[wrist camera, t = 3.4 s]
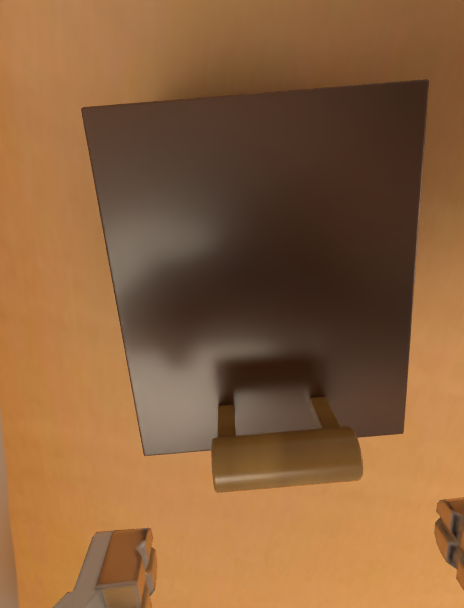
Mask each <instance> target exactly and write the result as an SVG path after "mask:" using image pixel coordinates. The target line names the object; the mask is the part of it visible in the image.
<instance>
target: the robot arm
mask: <svg viewBox="0 0 464 608" xmlns="http://www.w3.org/2000/svg"><path fill="white" fill-rule="evenodd" d="M436 511H437V512H438V514H439V515H440V518H439V519H438V520H437V522H436V523H435V537H436V542H437V545H438V547H439V550H440V552H441V554H442V556H443V557H444V559H445V561H446V562H447V563H449V564H450V565H452V566H453V567H454V568H456V569H457V575H456V579H457V580H458V582H459V583H460V585H461V587H462V588H463V590H464V497H463V498H453V499H444V500H440V501H439V502H438V503H437V510H436ZM152 541H153V535H152V531H151V528H142V529H127V530H114V531H101V532H96V533H95V535H94V536H93V537H92V540H91V543H90V546H89V548H88V551H87V554H86V557H85V560H84V562H83V565H82V568H81V571H80V574H79V576H78V579H77V582H76V585H75V588H74V590H73V592H67V593H66V594H65V595H64V596H63V597H62V599H61V600H60V601H59V602H58V603H57V604H56V605H55V606H54V607H53V608H152V604H151V599H150V596H151V594H152V593H153V592H154V590H155V586H156V579H157V557H156V551H155V549H154V548H153V547H152Z"/></svg>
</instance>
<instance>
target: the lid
mask: <svg viewBox="0 0 464 608" xmlns="http://www.w3.org/2000/svg"><path fill="white" fill-rule="evenodd" d="M428 87H429V80H427V79H424V80H412V81H400V82H387V83H375V84H363V85H350V86H338V87H326V88H314V89H301V90H289V91H277V92H264V93H252V94H240V95H227V96H215V97H203V98H191V99H178V100H166V101H154V102H141V103H129V104H117V105H104V106H92V107H83V108H82V109H81V111H82V117H83V122H84V128H85V133H86V139H87V144H88V150H89V155H90V161H91V166H92V172H93V177H94V183H95V188H96V194H97V199H98V205H99V210H100V216H101V221H102V227H103V232H104V238H105V243H106V249H107V255H108V260H109V266H110V271H111V277H112V282H113V288H114V293H115V299H116V304H117V310H118V315H119V321H120V326H121V332H122V337H123V343H124V348H125V354H126V359H127V365H128V370H129V376H130V381H131V387H132V392H133V398H134V403H135V409H136V414H137V420H138V425H139V431H140V436H141V442H142V447H143V453H144V456H151V455H162V454H174V453H185V452H197V451H209V450H211V451H212V473H213V483H214V489H215V491H216V492H217V493H222V492H233V491H245V490H256V489H268V488H279V487H290V486H302V485H313V484H325V483H336V482H348V481H358V480H360V479H361V478H362V474H363V460H362V453H361V449H360V445H359V441H358V439H357V438H359V437H370V436H382V435H393V434H403V433H404V419H405V406H406V392H407V378H408V364H409V350H410V336H411V322H412V309H413V295H414V281H415V267H416V253H417V239H418V226H419V212H420V198H421V184H422V170H423V156H424V143H425V129H426V115H427V101H428Z"/></svg>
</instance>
